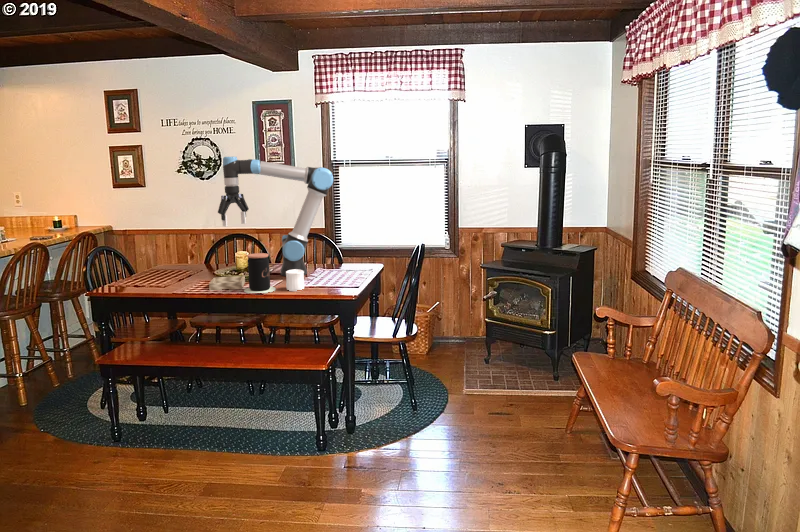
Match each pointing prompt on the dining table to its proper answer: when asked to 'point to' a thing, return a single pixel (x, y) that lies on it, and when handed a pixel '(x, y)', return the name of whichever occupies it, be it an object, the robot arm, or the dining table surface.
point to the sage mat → (260, 291)
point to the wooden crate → (227, 283)
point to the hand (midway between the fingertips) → (234, 225)
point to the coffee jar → (258, 272)
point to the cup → (294, 280)
